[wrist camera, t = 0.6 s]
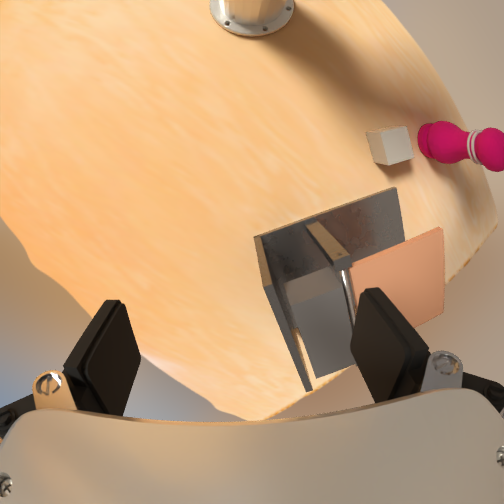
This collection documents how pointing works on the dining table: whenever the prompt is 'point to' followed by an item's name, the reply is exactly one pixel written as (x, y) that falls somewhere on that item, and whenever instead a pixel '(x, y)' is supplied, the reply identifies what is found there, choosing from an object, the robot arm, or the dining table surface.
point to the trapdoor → (363, 276)
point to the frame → (325, 254)
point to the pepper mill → (462, 145)
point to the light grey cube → (390, 145)
